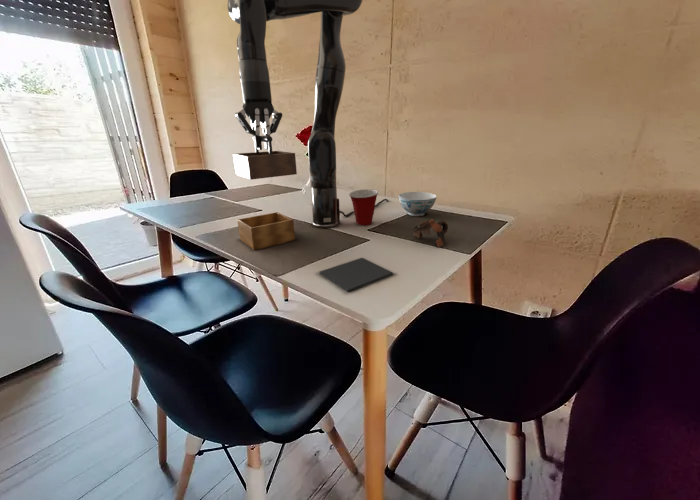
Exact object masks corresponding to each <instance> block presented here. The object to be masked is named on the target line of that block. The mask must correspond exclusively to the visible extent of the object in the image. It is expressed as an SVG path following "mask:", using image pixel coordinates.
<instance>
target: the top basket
mask: <svg viewBox="0 0 700 500" xmlns="http://www.w3.org/2000/svg"><path fill="white" fill-rule="evenodd" d="M260 136H261V143H264V142H268V149H267V151H260V150H257V148H256V147H255V144H254V143H253V145H254V152H239V153H232V158H233V164H234V170H235V171H234V172H235V175H236V176H238V177H241V178H243V179H247V180H259V179H260V180H261V179H268V178H277V177H284V176H285V177H286V176H293V175H297V174H298V172H297V161H296V159H297V158H296V153H295V152H290V151H282V150H273V145H272V144H273V143H272V142H273V136H271V135H270V136H264V135H260ZM252 141H254V137H253V136H252Z"/></svg>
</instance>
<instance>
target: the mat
mask: <svg viewBox="0 0 700 500" xmlns="http://www.w3.org/2000/svg"><path fill="white" fill-rule="evenodd" d="M319 274H320V275H321V276H323V277H324V278H325V279H327V280H329V281H330V282H331V283H333V284H334V285H336V286H338V287H339V288H341V289H342V290H344V291H346V292H347V293H350V292H352V291H354V290H358V289H360V288H362V287H365V286H367V285H370V284H372V283H375V282H377V281H380V280H383V279H385V278H388V277H389V276H392V275H393V274H394V273H393V271H391V270H388V269H386V268H384V267H382V266H380V265H379V264H376V263H374V262H372V261H370V260H368V259H366V258H363V257H359V258H357V259H354V260H350V261H348V262H345V263H342V264H339V265H336V266H332V267H329V268H327V269H323V270H320V271H319Z"/></svg>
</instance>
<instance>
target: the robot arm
mask: <svg viewBox="0 0 700 500" xmlns="http://www.w3.org/2000/svg"><path fill="white" fill-rule="evenodd" d="M362 2H363V0H227V11H228V14H229V16H230V18H231V19H232V20H233V21H234V22H235V23H237V24H238V25H239V34H238V35H237V38H236V48H237V56H238V69H239V71H238V72H239V81H240V87H241V95H242V102H243V105H242V109H241V110H239V111H238V112H235V113H234V117H235V118H236V120H237V121H238V122H239V123H240V126H241V127H242V128H243V130H244V131H245V133H246V134H249V135H252V137H254V140H253V145H254V144H255V145H254V148H255V147H256V148H257V150H259V151H262V150H263V149H264V150H268V142H261V136H262V135H261V132H260V131H261V129H260V126H261V128H262V134H263V136H271V135H272V134H275V133H276V132H277V131H278V127H279V125H280V123H281V120H282V118H283V113H282V112H280V111H277V110H276V109H275V107H274V105H273V102H272V101H273V99H272V89H271V88H272V87H271V79H270V71H269V66H268V57H267V50H266V49H267V48H266V36H267V35H266V33H267V22H270V21H275V20H276V21H277V20H278V21H279V20H288V19H294V18H300V17H303V16H309V15H312V14H317V13H320V33H319V43H318V55H317V64H316V70H315V78H314V116H313V123H312V128H311V132H310V135H309V137H308V141H307V153H308V169H309V178H310V180H309V181H310V192H311V193H310V194H311V210H312V211H311V212H312V213H311V214H312V226H313V227H316V228H320V229H327V228H328V229H329V228H334V227H336V226H338V225H340V224H341V218H340V217H341V214H342V215H343V217H345V218H346V217H349V216H351V215H353V214H354V210H352V211H350V212H349V213H348V214H345V212H344V211H342V210H341V209H340V199H339V198H338V191H337V187H338V186H337V145H336V139H335V137H336V136H335V135H336V134H335V131H336V130H335V129H336V119H337V113H338V109H339V106H340V103H341V100H342V95H343V90H344V85H345V77H346V71H347V70H346V66H347V65H346V59H345V55H344V50H343V47H342V42H341V33H342V31H341V29H342V23H343V18H344V17H345V16H349V15H352V14H354V13H356V12H357V11H358V10H359V9H360V7H361V5H362ZM247 117H248V119H249V120H250V124H249V122H248V121H247ZM271 117H272V121H270V119H271ZM270 122H271V123H270ZM262 143H263V144H262ZM383 202H388V203H389V199H388V198H383V199H382V200H380V201H379V202H377V203H375V208H377V207H378V206H379V205H380V204H382V203H383Z"/></svg>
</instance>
